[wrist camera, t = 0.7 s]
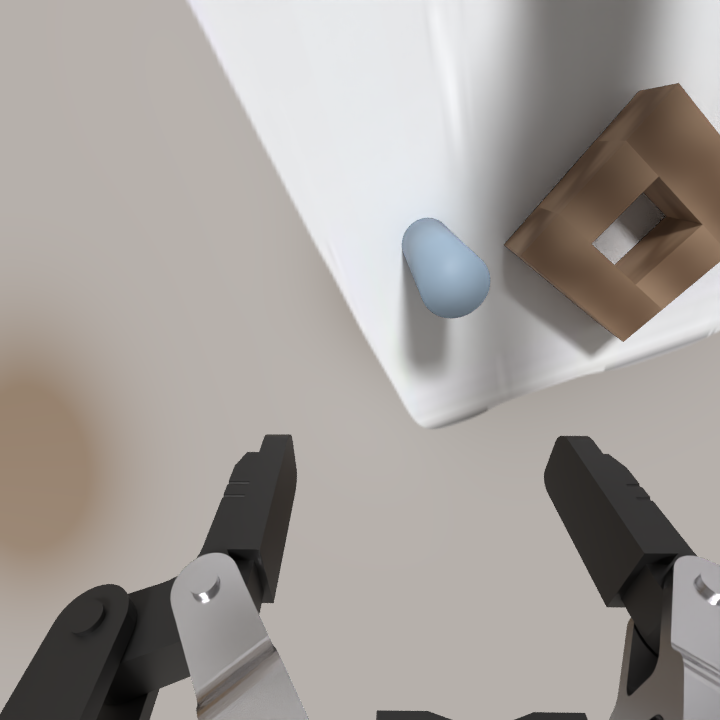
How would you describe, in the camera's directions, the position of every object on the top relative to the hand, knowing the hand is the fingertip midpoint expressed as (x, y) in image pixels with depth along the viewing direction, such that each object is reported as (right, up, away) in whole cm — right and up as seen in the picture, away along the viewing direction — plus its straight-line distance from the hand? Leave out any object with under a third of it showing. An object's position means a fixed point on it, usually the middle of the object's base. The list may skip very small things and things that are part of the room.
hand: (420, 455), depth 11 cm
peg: (+4, +14, +22) cm, 26 cm away
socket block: (+21, +15, +21) cm, 34 cm away
